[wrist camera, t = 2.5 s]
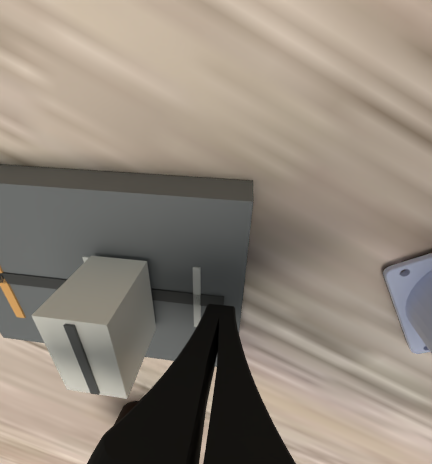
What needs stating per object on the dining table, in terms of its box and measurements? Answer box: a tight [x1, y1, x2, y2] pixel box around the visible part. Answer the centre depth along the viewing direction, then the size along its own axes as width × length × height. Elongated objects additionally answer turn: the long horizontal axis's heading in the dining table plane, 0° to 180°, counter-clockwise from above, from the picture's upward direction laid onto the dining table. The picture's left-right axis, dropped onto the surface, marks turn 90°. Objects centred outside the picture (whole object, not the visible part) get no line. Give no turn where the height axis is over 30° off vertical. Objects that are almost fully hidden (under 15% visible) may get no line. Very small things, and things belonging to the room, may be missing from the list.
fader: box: [31, 256, 156, 399], centre depth 12 cm, size 3×5×4 cm, turn 179°
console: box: [0, 165, 253, 367], centre depth 15 cm, size 17×12×3 cm
